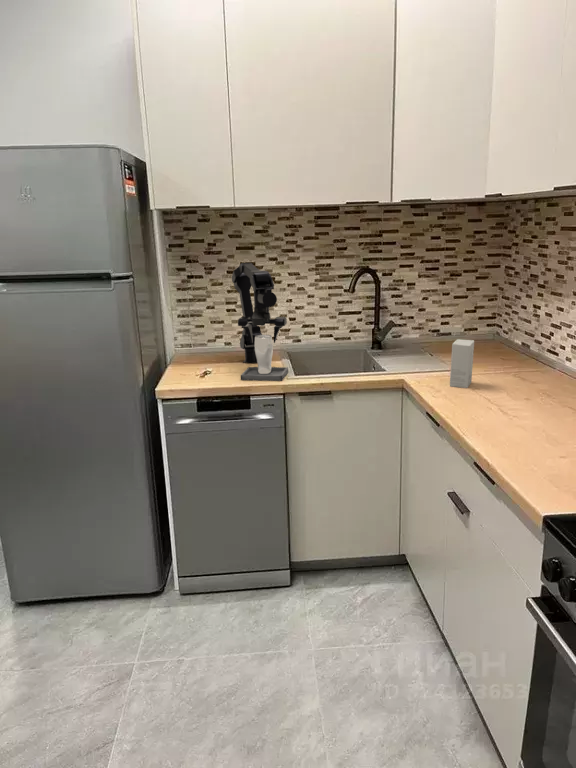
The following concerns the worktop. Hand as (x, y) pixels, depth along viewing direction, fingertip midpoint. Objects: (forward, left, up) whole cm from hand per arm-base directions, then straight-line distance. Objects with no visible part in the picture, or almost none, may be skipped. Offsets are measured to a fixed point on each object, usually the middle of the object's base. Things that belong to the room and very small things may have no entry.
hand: (263, 342), depth 235 cm
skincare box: (+16, +75, -12) cm, 78 cm away
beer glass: (+9, +2, -11) cm, 14 cm away
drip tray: (+9, +2, -11) cm, 15 cm away
